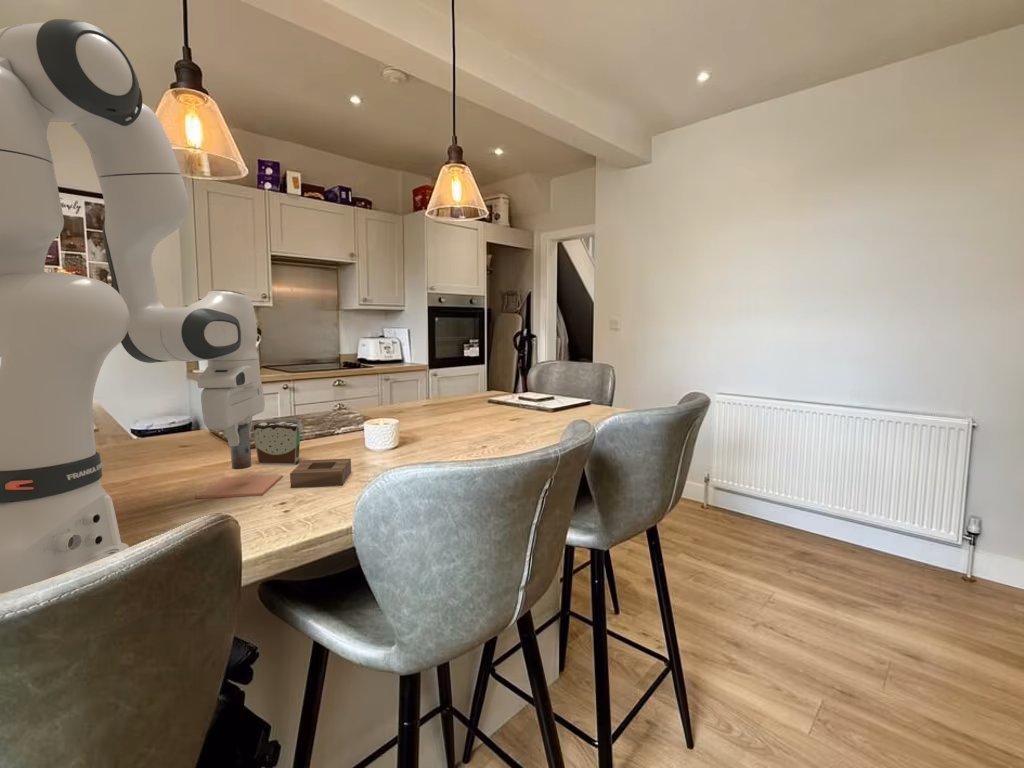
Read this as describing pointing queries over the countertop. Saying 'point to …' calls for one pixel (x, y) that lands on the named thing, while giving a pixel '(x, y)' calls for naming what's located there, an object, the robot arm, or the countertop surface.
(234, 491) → the rubber mat
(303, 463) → the brown square peg hole
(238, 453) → the metal peg
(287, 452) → the food container
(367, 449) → the countertop surface
